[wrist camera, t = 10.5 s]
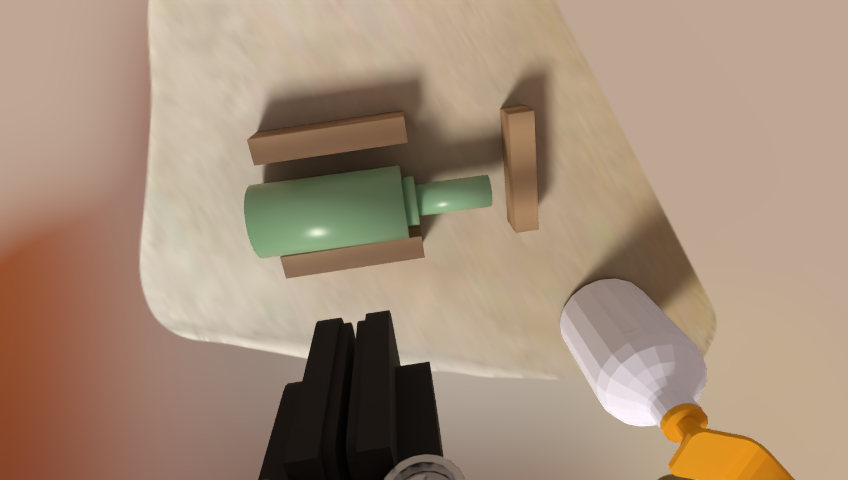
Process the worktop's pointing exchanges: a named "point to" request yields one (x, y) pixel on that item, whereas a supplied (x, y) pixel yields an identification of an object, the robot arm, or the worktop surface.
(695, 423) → the soap bottle
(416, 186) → the bottle
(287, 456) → the robot arm
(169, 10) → the worktop surface
